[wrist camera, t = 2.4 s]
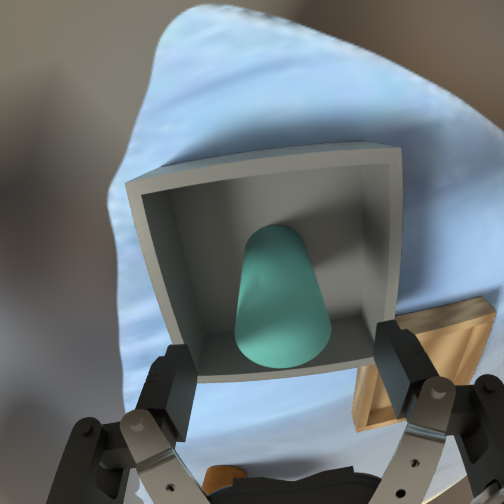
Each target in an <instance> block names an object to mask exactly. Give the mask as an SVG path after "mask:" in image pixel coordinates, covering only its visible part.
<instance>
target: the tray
mask: <svg viewBox="0 0 504 504" xmlns="http://www.w3.org/2000/svg"><path fill="white" fill-rule="evenodd" d="M496 313H497V311H496V310H495V309H494V308H493V307H492V306H491V305H490V304H489V303H488V302H487V301H486V300H485V299H484V298H483V297H482V296H480V297H477V298H473V299H469V300H465V301H461V302H457V303H453V304H449V305H445V306H441V307H436V308H432V309H428V310H423V311H418V312H414V313H409V314H404V315H399V316H395V319H394V320H396V322H397V323H398V325H399V327H400V328H401V330H403V329H408V330H409V331H411V332H412V333H414V334H415V335H416V337H417V338H418V340H419V341H420V343H421V345H422V346H423V348H424V350H425V352H426V353H427V355H428V356H429V358H430V360H431V362H432V363H433V365H434V367H435V368H436V370H437V372H438V374H439V375H440V376H441V377H445V378H448V379H449V380H451V381H452V382H453V384H454V385H469V383H470V381H471V379H472V376H473V374H474V372H475V370H476V367H477V365H478V363H479V360H480V358H481V355H482V353H483V350H484V348H485V345H486V342H487V340H488V337H489V334H490V331H491V328H492V325H493V322H494V319H495V316H496ZM352 417H353V421H354V425H355V429H356V432H361V431H366V430H370V429H375V428H379V427H383V426H387V425H391V424H395V423H399V422H402V421H406V418H403V419H399V420H397V418H396V415H395V413H394V410H393V407H392V405H391V402H390V399H389V397H388V394H387V391H386V389H385V386H384V384H383V381H382V379H381V376H380V374H379V371H378V369H377V366H376V364H373V365H368V366H363V367H358V371H357V379H356V387H355V394H354V401H353V407H352Z"/></svg>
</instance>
